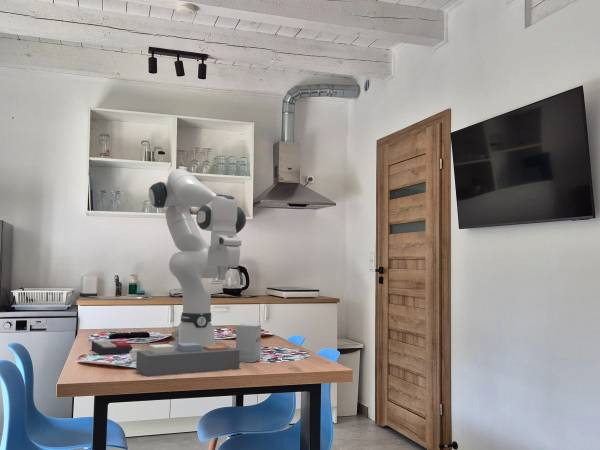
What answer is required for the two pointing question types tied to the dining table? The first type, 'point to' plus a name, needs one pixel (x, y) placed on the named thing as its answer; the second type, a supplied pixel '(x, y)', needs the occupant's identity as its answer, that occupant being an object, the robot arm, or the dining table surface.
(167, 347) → the cream key
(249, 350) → the supplement box
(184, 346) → the slate key
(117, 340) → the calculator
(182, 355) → the key console
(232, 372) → the dining table surface
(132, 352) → the white curved piece
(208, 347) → the terracotta key
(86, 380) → the dining table surface
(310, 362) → the dining table surface
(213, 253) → the robot arm
